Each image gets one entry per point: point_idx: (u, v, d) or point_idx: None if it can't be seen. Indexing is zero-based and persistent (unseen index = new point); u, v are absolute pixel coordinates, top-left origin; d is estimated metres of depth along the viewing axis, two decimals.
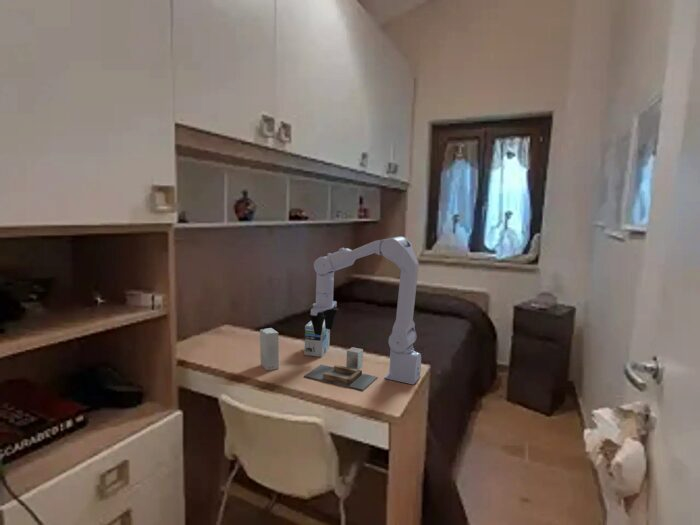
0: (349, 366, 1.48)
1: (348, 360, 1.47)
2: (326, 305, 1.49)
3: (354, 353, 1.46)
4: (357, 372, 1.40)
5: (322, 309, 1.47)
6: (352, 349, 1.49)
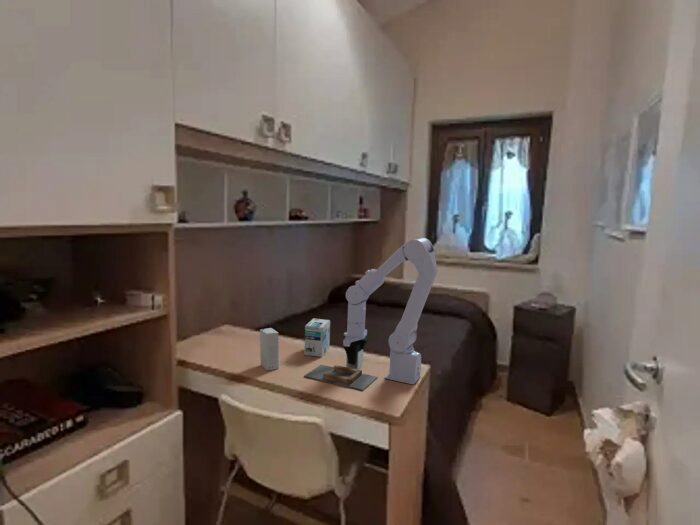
0: (349, 366, 1.48)
1: None
2: (358, 335, 1.45)
3: None
4: (357, 372, 1.40)
5: (354, 340, 1.43)
6: None
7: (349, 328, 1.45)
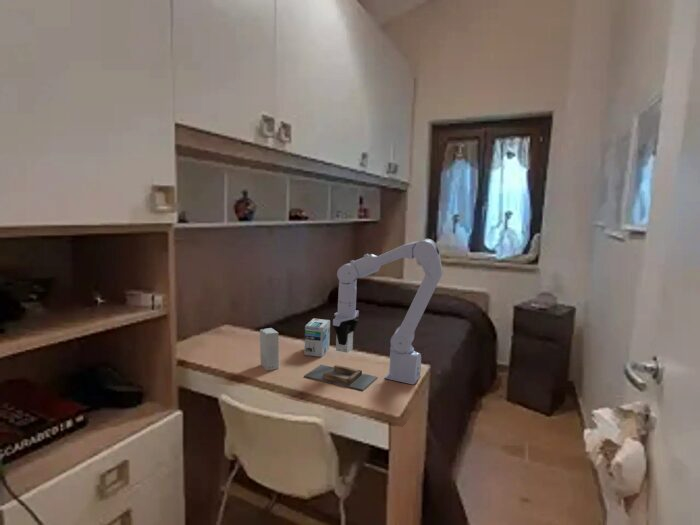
0: (339, 348, 1.45)
1: None
2: (349, 315, 1.42)
3: None
4: (357, 372, 1.40)
5: (345, 319, 1.40)
6: None
7: (339, 308, 1.42)
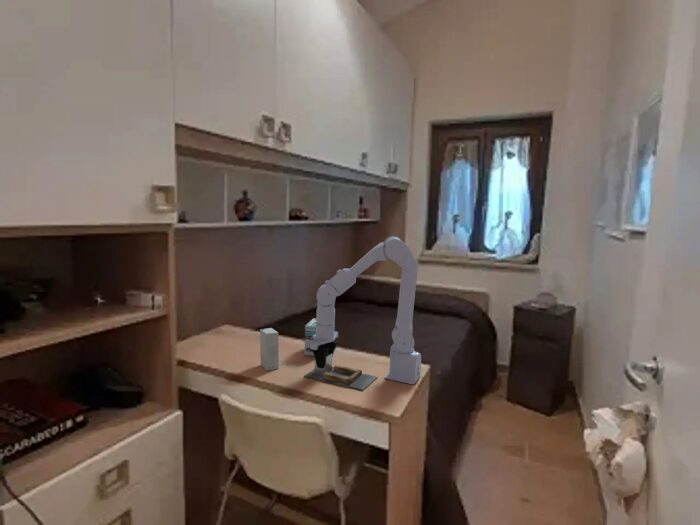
0: (317, 371, 1.41)
1: (316, 365, 1.41)
2: (327, 338, 1.38)
3: None
4: (357, 372, 1.40)
5: (323, 342, 1.36)
6: None
7: (317, 330, 1.39)
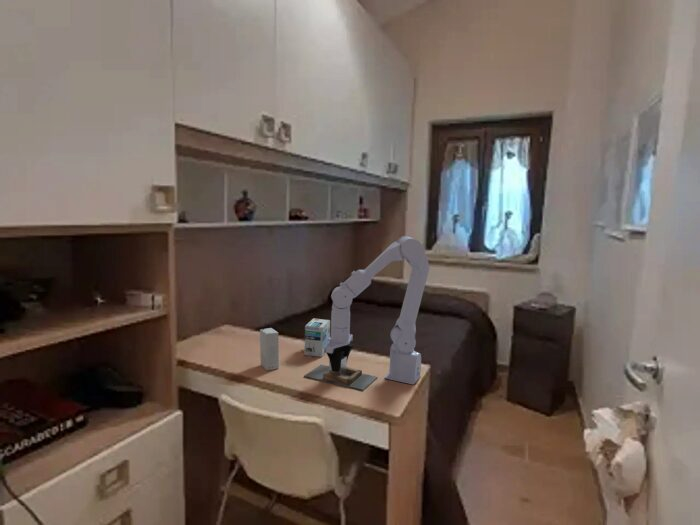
0: None
1: (331, 368, 1.39)
2: (342, 341, 1.36)
3: None
4: (357, 372, 1.40)
5: (338, 346, 1.34)
6: None
7: (332, 333, 1.37)
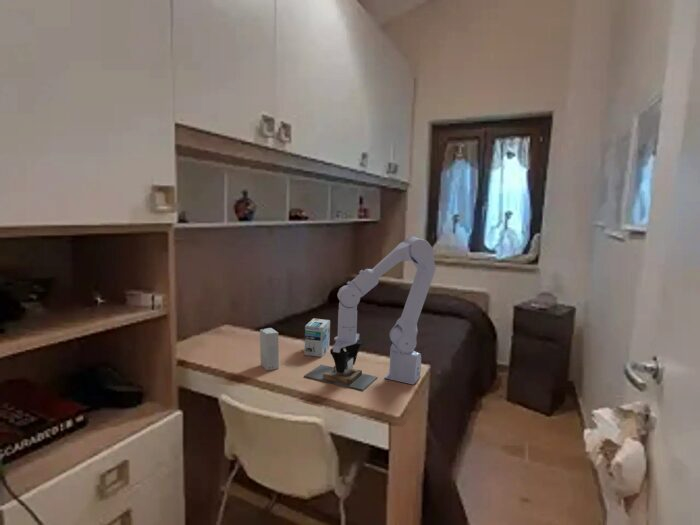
0: None
1: None
2: (349, 340, 1.35)
3: None
4: (357, 372, 1.40)
5: (345, 345, 1.33)
6: None
7: (339, 332, 1.36)
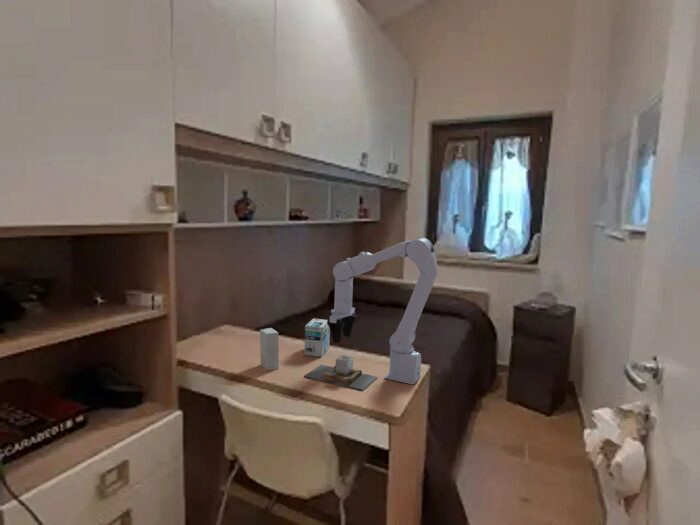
0: None
1: (337, 369, 1.38)
2: (345, 312, 1.44)
3: (343, 362, 1.37)
4: (357, 372, 1.40)
5: (341, 316, 1.42)
6: (341, 357, 1.39)
7: (336, 305, 1.44)
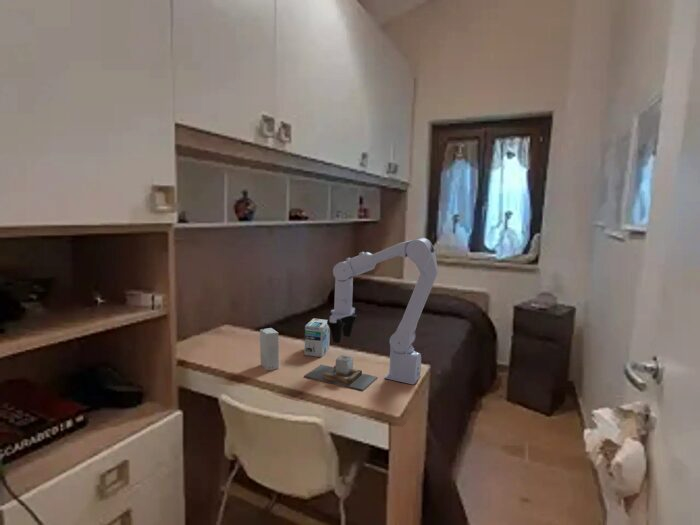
0: None
1: (337, 369, 1.38)
2: (345, 312, 1.44)
3: (343, 362, 1.37)
4: (357, 372, 1.40)
5: (341, 316, 1.42)
6: (341, 357, 1.39)
7: (336, 305, 1.44)
